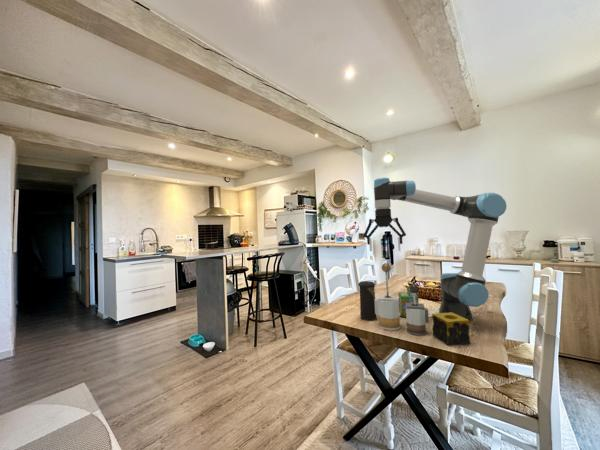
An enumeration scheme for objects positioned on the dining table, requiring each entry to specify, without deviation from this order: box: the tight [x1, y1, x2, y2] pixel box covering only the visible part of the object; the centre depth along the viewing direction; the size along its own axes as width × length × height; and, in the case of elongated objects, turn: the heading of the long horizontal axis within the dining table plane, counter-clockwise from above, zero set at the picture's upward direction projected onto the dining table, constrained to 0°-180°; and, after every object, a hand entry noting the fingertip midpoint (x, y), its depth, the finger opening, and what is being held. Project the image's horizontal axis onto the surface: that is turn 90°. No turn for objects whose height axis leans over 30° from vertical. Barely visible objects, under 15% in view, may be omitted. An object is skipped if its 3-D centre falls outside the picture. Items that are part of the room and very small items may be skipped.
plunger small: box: [408, 283, 420, 306], centre depth 115 cm, size 4×4×16 cm
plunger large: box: [381, 263, 392, 298], centre depth 124 cm, size 4×4×18 cm
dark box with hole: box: [431, 312, 471, 346], centre depth 106 cm, size 10×10×10 cm
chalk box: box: [397, 287, 420, 318], centre depth 137 cm, size 9×9×15 cm
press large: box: [374, 294, 402, 331], centre depth 123 cm, size 12×10×14 cm
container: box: [357, 280, 378, 321], centre depth 136 cm, size 9×9×20 cm
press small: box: [405, 303, 430, 337], centre depth 115 cm, size 10×8×12 cm
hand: (384, 250), depth 124 cm, fingers open, 13 cm apart
